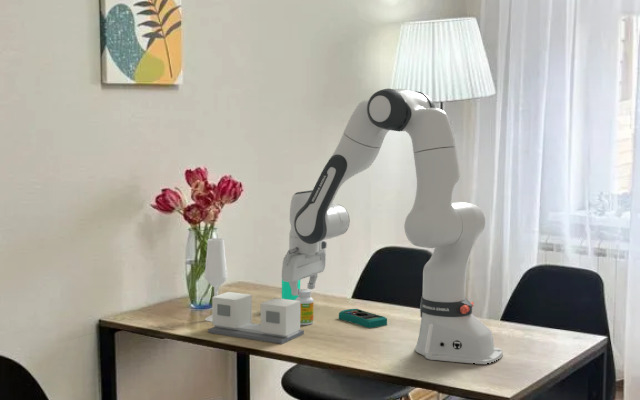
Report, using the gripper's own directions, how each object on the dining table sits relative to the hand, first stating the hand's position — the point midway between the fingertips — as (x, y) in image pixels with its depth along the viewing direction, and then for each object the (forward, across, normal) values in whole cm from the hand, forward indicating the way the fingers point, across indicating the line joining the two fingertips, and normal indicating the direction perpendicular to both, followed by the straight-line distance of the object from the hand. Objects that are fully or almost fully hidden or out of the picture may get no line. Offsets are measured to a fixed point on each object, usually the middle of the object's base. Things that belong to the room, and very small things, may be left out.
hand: (303, 291), depth 264 cm
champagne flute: (+10, -9, +24) cm, 28 cm away
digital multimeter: (+10, +10, -15) cm, 20 cm away
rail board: (+9, -17, +5) cm, 20 cm away
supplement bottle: (+9, 0, -1) cm, 9 cm away
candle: (+10, +13, +11) cm, 20 cm away
